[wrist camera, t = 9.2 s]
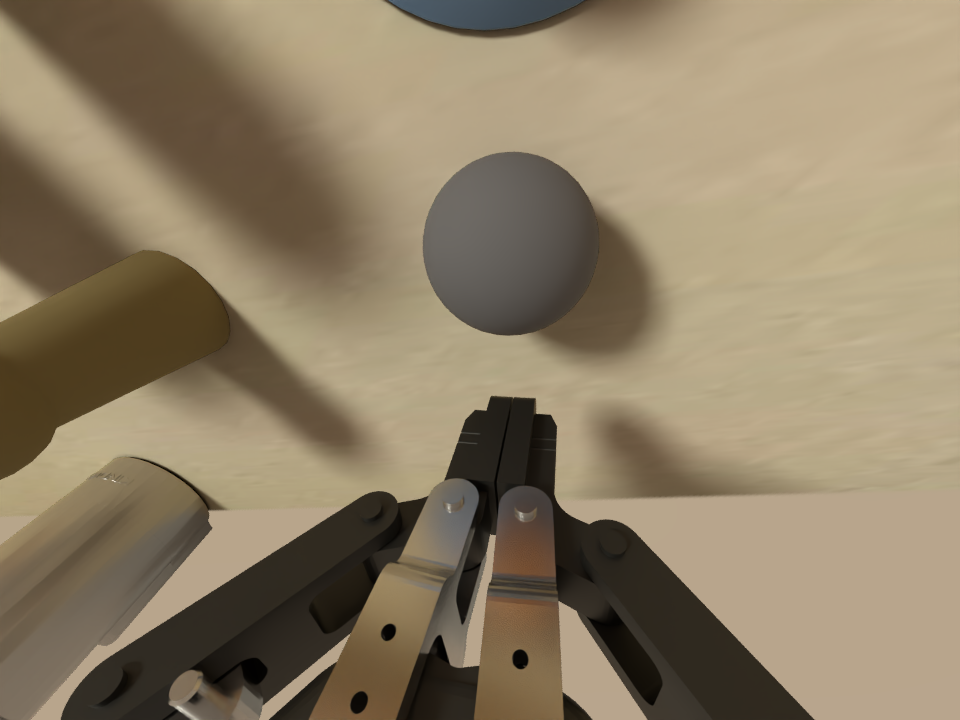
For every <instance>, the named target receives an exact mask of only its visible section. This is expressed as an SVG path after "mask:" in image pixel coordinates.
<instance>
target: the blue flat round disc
mask: <svg viewBox="0 0 960 720" xmlns="http://www.w3.org/2000/svg"><path fill="white" fill-rule="evenodd" d="M388 1H390V2H391V3H393V4H394V5H396V6H397V7H399V8H401V9H403V10H405V11H408V12H410V13H412V14H414V15H416V16H418V17H421V18H423V19H425V20H427V21H431V22H434V23H438V24H442V25H446V26H449V27H453V28H460V29H471V30H483V31H486V30H497V29H508V28H516V27H519V26H523V25H527V24H531V23H534V22H538V21H542V20H545V19H548V18H550V17H552V16H554V15H557V14H559V13H561V12H563V11H566V10H568V9H570V8H573V7H575V6H577V5H578V4H580V3H582V2H583V1H585V0H388Z"/></svg>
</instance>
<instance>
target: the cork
mask: <svg viewBox="0 0 960 720" xmlns="http://www.w3.org/2000/svg"><path fill="white" fill-rule="evenodd" d="M229 334H230V325H229V317H228V315H227V312H226V310H225V308H224V306H223V303H222V301H221V299H220V298H219V297H218V295H217V294H216V293H215V291H214V290H213V288H212V287H211V286H210V284H209V283H208V282H207V281H206V280H205V279H204V278H202V277H201V276H200V275H199V274H198V273H197V272H196V271H195V270H194V269H193V268H191V267H190V266H188V265H187V264H185V263H183V262H182V261H180V260H179V259H177V258H175V257H173V256H170V255H167V254H165V253H162V252H159V251H146V250H143V251H141V252H138V253H136V254H134V255H131V256H129V257H127V258H125V259H124V260H122V261H120V262H118V263H116V264H114V265H112V266H110V267H108V268H106V269H104V270H102V271H100V272H98V273H96V274H94V275H92V276H90V277H88V278H86V279H84V280H82V281H81V282H79V283H77V284H75V285H73V286H71V287H69V288H67V289H65V290H63V291H61V292H59V293H57V294H55V295H53V296H51V297H49V298H47V299H45V300H43V301H41V302H39V303H38V304H36V305H34V306H32V307H30V308H28V309H26V310H24V311H22V312H20V313H18V314H16V315H14V316H12V317H10V318H8V319H6V320H4V321H2V322H0V480H1V479H3V478H5V477H8V476H10V475H12V474H14V473H16V472H17V471H19V470H20V469H22V468H23V467H25V466H26V465H28V464H29V463H31V462H32V461H33V460H34V459H35V458H36V457H37V456H38V455H39V454H40V453H41V452H42V451H43V450H44V449H45V448H46V447H47V446H48V444H49V443H50V442H51V440H52V437H53V435H54V433H55V430H56V428H57V427H59V426H61V425H63V424H65V423H68V422H70V421H72V420H74V419H76V418H78V417H80V416H82V415H84V414H86V413H88V412H90V411H92V410H94V409H96V408H99V407H101V406H103V405H105V404H107V403H109V402H111V401H113V400H115V399H117V398H119V397H121V396H123V395H125V394H128V393H130V392H132V391H134V390H136V389H138V388H140V387H142V386H144V385H146V384H148V383H150V382H152V381H154V380H156V379H159V378H161V377H163V376H165V375H167V374H169V373H171V372H173V371H175V370H177V369H179V368H181V367H183V366H185V365H187V364H190V363H192V362H194V361H196V360H198V359H200V358H202V357H204V356H206V355H208V354H210V353H212V352H214V351H216V350H219V349H220V348H221V347H222V346H223V345H224V344H225V343H226V342H227V341H228V337H229Z"/></svg>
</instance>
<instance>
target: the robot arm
mask: <svg viewBox="0 0 960 720" xmlns="http://www.w3.org/2000/svg"><path fill="white" fill-rule="evenodd" d="M461 432H462V433H461V434H460V437H459V440H458V443H457V446H456V449H455V452H454V454H453V457H452V460H451V463H450V466H449V469H448V472H447V475H446V478H445V480H444V481H443V482H441V483H439V484H438V485H437V486H436V487H434V489H433V490H432V491H431V493H430V494H429V496H427V497H424V498H422V499H417V500H412V501H406V502H401V503H397V500H396V499H395V497H394V496H393V495H391V494H390V493H387V492H383V491H377V492H371V493H368V494H366V495H364V496H362V497H360V498H359V499H357V500H355V501H354V502H352V503H351V504H349V505H348V506H346V507H344V508H343V509H341V510H340V511H338V512H337V513H335V514H333V515H332V516H330V517H329V518H327V519H326V520H324V521H322V522H321V523H319V524H318V525H316V526H315V527H313V528H311V529H310V530H308V531H307V532H305V533H304V534H302V535H300V536H299V537H297V538H296V539H294V540H293V541H291V542H289V543H288V544H286V545H285V546H283V547H282V548H280V549H279V550H277V551H275V552H274V553H272V554H271V555H269V556H267V557H266V558H264V559H263V560H261V561H260V562H258V563H256V564H255V565H253V566H252V567H250V568H249V569H247V570H245V571H244V572H242V573H241V574H239V575H238V576H236V577H234V578H233V579H231V580H230V581H229V582H227V583H225V584H224V585H222V586H220V587H219V588H217V589H216V590H214V591H212V592H211V593H209V594H208V595H206V596H205V597H203V598H201V599H200V600H198V601H197V602H195V603H193V604H192V605H191V606H189V607H187V608H186V609H184V610H182V611H181V612H180V613H178V614H176V615H175V616H173V617H171V618H170V619H169V620H167V621H166V622H164V623H162V624H161V625H159V626H157V627H156V628H154V629H153V630H151V631H149V632H148V633H146V634H145V635H143V636H142V637H140V638H138V639H137V640H135V641H134V642H132V643H131V644H129V645H127V646H126V647H124V648H123V649H121V650H120V651H118V652H116V653H115V654H113V655H112V656H110V657H109V658H107V659H106V660H105V661H103V662H102V663H100V664H99V665H98V666H97V667H95V669H94V670H92V671H91V672H90V673H89V674H88V675H87V676H86V677H85V678H84V679H83V680H82V682H81V683H80V684H79V685H78V687H77V688H76V689H75V691H74V692H73V694H72V695H71V697H70V698H69V700H68V702H67V704H66V706H65V708H64V710H63V713H62V717H61V720H259V718H260V715H261V711H262V706H263V705H264V704H265V703H266V702H268V701H269V700H270V699H271V698H272V697H274V696H275V695H276V694H277V693H279V692H280V691H281V690H282V689H283V688H285V687H286V686H287V685H288V684H289V683H291V682H292V681H293V680H294V679H295V678H297V677H298V676H299V675H300V674H301V673H303V672H304V671H305V670H306V669H308V668H309V667H310V666H311V665H312V664H314V663H315V662H316V661H317V660H318V659H320V658H321V657H322V656H323V655H325V654H326V653H327V652H328V651H329V650H331V649H332V648H333V647H334V646H335V645H337V644H338V643H339V642H340V641H341V640H343V639H344V638H345V637H346V636H347V635H349V634H350V633H351V634H350V636H349V638H348V640H347V642H346V644H345V646H344V649H343V650H342V653H341V655H340V657H339V659H338V661H337V662H336V663H334V664H333V665H331V666H330V667H328V668H327V669H326V670H324V671H323V672H322V673H321V674H319V675H318V676H317V677H316V678H315V679H314V680H313V681H312V682H310V683H309V684H308V685H307V686H306V687H305V688H304V689H303V690H301V691H300V692H299V693H298V694H297V695H296V696H295V697H294V698H293V699H292V700H290V701H289V702H288V703H287V704H286V705H285V706H284V707H282V708H281V709H280V710H279V711H278V712H277V713H276V714H275V715H274V716H273V717H271V718H270V719H269V720H592V719H591V718H590V716H589V715H588V714H587V713H586V712H585V710H583V709H582V708H581V707H580V706H579V705H578V704H577V703H576V702H575V701H574V700H572V699H571V698H570V697H569V696H567V695H566V694H565V693H563V692H562V671H561V650H560V629H559V606H558V601H560V602H562V603H564V604H565V605H567V606H569V607H571V608H573V609H574V610H576V611H577V613H578V615H579V617H580V619H581V620H582V622H583V624H584V625H585V627H586V628H587V630H588V631H589V633H590V634H591V636H592V637H593V639H594V640H595V642H596V643H597V645H598V646H599V647H600V649H601V651H602V652H603V654H604V655H605V656H606V658H607V660H608V661H609V662H610V664H611V666H612V667H613V668H614V670H615V672H616V673H617V675H618V676H619V677H620V679H621V680H622V682H623V684H624V685H625V686H626V688H627V689H628V691H629V692H630V694H631V696H632V697H633V699H634V700H635V701H636V703H637V704H638V706H639V707H640V709H641V710H642V712H643V713H644V715H645V716H646V718H647V719H648V720H814V719H813V718H812V717H811V716H810V715H809V714H808V713H807V712H806V710H805V709H803V707H802V706H801V705H800V704H799V703H798V702H797V701H796V700H795V699H794V698H793V697H792V696H791V695H790V694H789V693H788V692H787V691H786V690H785V689H784V687H783V686H782V685H781V684H780V683H779V682H778V681H777V680H776V679H775V678H774V677H773V676H772V675H771V674H770V673H769V672H768V671H767V670H766V669H765V668H764V667H763V666H762V665H761V663H759V661H758V660H757V659H755V657H754V656H753V655H752V654H751V653H750V652H749V651H748V650H747V649H746V648H745V647H744V646H743V645H742V644H741V643H740V642H739V641H738V640H737V638H736V637H735V636H734V635H733V634H732V633H731V632H730V631H729V630H728V629H727V628H726V627H725V626H724V625H723V624H722V623H721V622H720V621H719V620H718V619H717V618H716V617H715V615H714V614H713V613H712V612H711V611H710V610H709V609H708V608H707V607H706V606H705V605H704V604H703V603H702V602H701V601H700V600H699V599H698V598H697V597H696V596H695V595H694V594H693V593H692V592H691V590H690V589H689V588H688V587H687V586H686V585H685V584H684V583H683V582H682V581H681V580H680V579H679V578H678V577H677V576H676V575H675V574H674V573H673V572H672V571H671V570H670V569H669V567H668V566H667V565H666V564H665V563H664V562H663V561H662V560H661V559H660V558H659V557H658V556H657V555H656V554H655V553H654V552H653V551H652V550H651V549H650V548H649V547H648V546H647V545H646V544H645V542H643V540H641V538H640V537H639V536H638V535H637V534H636V533H635V532H634V531H633V530H631V529H630V528H629V527H628V526H626V525H624V524H622V523H620V522H617V521H613V520H598V521H595V522H593V523H591V524H590V525H589V524H587V523H585V522H582V521H580V520H578V519H576V518H574V517H571V516H570V515H568V514H567V513H566V512H565V511H564V510H563V509H562V508H561V507H560V506H559V504H558V503H557V501H556V498H555V495H554V489H555V466H556V438H557V426H556V424H555V422H554V420H553V418H552V416H551V415H545V414H536V398H520V397H514V399H513V397H501V396H491V397H490V400H489V404H488V407H487V411H483V410H475V411H474V412H473V413H472V414H471V415H470V416H469V417H468V418H467V419H466V420H465V423H464V426H463V428H462V431H461ZM208 519H209V512H208V509H207V507H206V505H205V503H204V502H203V501H202V499H201V498H200V497H199V496H198V495H197V494H196V493H195V492H194V491H193V490H192V489H191V488H190V487H189V486H188V485H186V484H185V483H184V482H183V481H181V480H180V479H178V478H177V477H175V476H174V475H172V474H171V473H169V472H167V471H165V470H164V469H162V468H160V467H158V466H155V465H153V464H151V463H148V462H145V461H142V460H139V459H135V458H130V457H119V458H115V459H113V460H112V461H111V462H110V463H108V464H107V465H106V466H104V467H103V468H102V469H100V470H99V471H98V472H96V473H94V474H92V475H91V476H90V477H89V478H87V479H86V481H84V482H83V483H82V484H80V485H79V486H78V487H76V488H75V489H74V490H72V491H71V492H70V493H69V494H67V495H66V496H65V497H63V498H62V499H60V500H59V501H58V502H56V503H55V504H54V505H52V506H51V507H50V508H48V509H47V510H46V511H45V512H43V513H42V514H41V515H39V516H38V517H37V518H35V519H34V520H33V521H31V522H30V523H29V524H28V525H26V526H25V527H23V528H22V529H21V530H20V531H18V532H17V533H16V534H14V535H13V536H12V537H10V538H9V539H8V540H6V541H5V542H4V543H2V544H1V545H0V720H30V719H32V717H33V716H34V715H35V714H36V713H37V712H38V711H39V710H40V708H41V707H42V706H43V705H44V704H45V703H46V702H47V701H48V700H49V698H50V697H51V696H52V695H53V694H54V693H55V692H56V691H57V689H58V688H59V687H60V686H61V685H62V684H63V683H64V682H65V680H66V679H67V678H68V677H69V676H70V675H71V674H72V673H73V671H74V670H75V669H76V668H77V667H78V666H79V665H80V663H81V662H82V661H83V660H84V659H85V658H86V657H87V656H88V655H89V653H90V652H91V651H92V650H93V649H94V648H95V647H96V646H97V644H99V645H103V646H107V645H109V644H111V643H113V642H114V641H115V640H116V639H117V638H118V637H119V636H120V635H121V634H122V633H123V631H124V630H125V629H126V628H127V627H128V626H129V625H130V623H131V622H132V621H133V620H134V619H135V618H136V616H137V615H138V614H139V613H140V612H141V611H142V609H143V608H144V607H145V606H146V605H147V603H148V602H149V601H150V600H151V599H152V598H153V597H154V596H155V594H156V593H157V592H158V591H159V590H160V588H161V587H162V586H163V585H164V584H165V583H166V581H167V580H168V579H169V578H170V577H171V576H172V575H173V573H174V572H175V571H176V570H177V569H178V568H179V567H180V565H181V564H182V563H183V562H184V561H185V560H186V558H187V557H188V556H189V555H190V554H191V553H192V551H193V550H194V549H195V548H196V547H197V545H199V543H200V542H201V541H202V540H203V539H204V538H205V536H206V535H207V534H208V533H209V532H210V530H211V529H212V527H211V526H210V524H209V522H208ZM490 534H491V535H496V541H495V551H494V562H493V572H492V580H491V582H490V583H489V586H488V591H487V599H486V608H485V618H484V628H483V638H482V647H481V657H480V666H473V667H464V668H462V667H463V663H464V657H465V650H466V638H467V631H468V627H469V623H470V619H471V615H472V612H473V608H474V604H475V600H476V597H477V593H478V589H479V586H480V582H481V578H482V575H483V571H484V567H485V563H486V552H487V547H488V542H489V537H490Z"/></svg>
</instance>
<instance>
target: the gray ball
mask: <svg viewBox="0 0 960 720" xmlns="http://www.w3.org/2000/svg"><path fill="white" fill-rule="evenodd" d="M598 252H599V231H598V224H597V219H596V216H595V213H594V210H593V207H592V205H591V202H590V200H589V198H588V196H587V195H586V193H585V192H584V190H583V189H582V187H581V186H580V184H579V183H578V182H577V181H576V180H575V179H574V178H573V177H572V176H571V175H570V174H569V173H568V172H567V171H566V170H565V169H563V168H562V167H560V166H559V165H557V164H556V163H554V162H552V161H550V160H548V159H546V158H543V157H540V156H537V155H533V154H529V153H522V152H505V153H497V154H492V155H488V156H485V157H483V158H480V159H478V160H476V161H474V162H472V163H470V164H468V165H466V166H465V167H464V168H462V169H461V170H460V171H458V172H457V173H456V174H455V175H453V177H452V178H451V179H450V180H449V181H448V182H447V183H446V184H445V185H444V186H443V188H442V189H441V191H440V192H439V193H438V195H437V196H436V198H435V200H434V202H433V204H432V207H431V209H430V211H429V214H428V217H427V220H426V224H425V229H424V236H423V256H424V263H425V267H426V271H427V275H428V278H429V280H430V283H431V285H432V287H433V289H434V291H435V293H436V295H437V296H438V297H439V299H440V300H441V302H442V303H443V304H444V306H445V307H446V308H447V309H448V310H449V311H450V312H451V313H452V314H453V315H455V316H456V317H457V318H458V319H460V320H461V321H463V322H464V323H466V324H468V325H469V326H471V327H473V328H476V329H478V330H480V331H483V332H487V333H491V334H496V335H507V336H508V335H522V334H527V333H531V332H535V331H537V330H540V329H543V328H545V327H547V326H549V325H551V324H553V323H554V322H556V321H557V320H559V319H560V318H562V317H563V316H564V315H566V314H567V313H568V312H569V311H570V310H571V309H572V308H573V307H574V306H575V305H576V303H577V302H578V301H579V300H580V298H581V297H582V296H583V294H584V292H585V291H586V289H587V288H588V286H589V283H590V281H591V279H592V277H593V274H594V271H595V267H596V264H597V259H598Z"/></svg>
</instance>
